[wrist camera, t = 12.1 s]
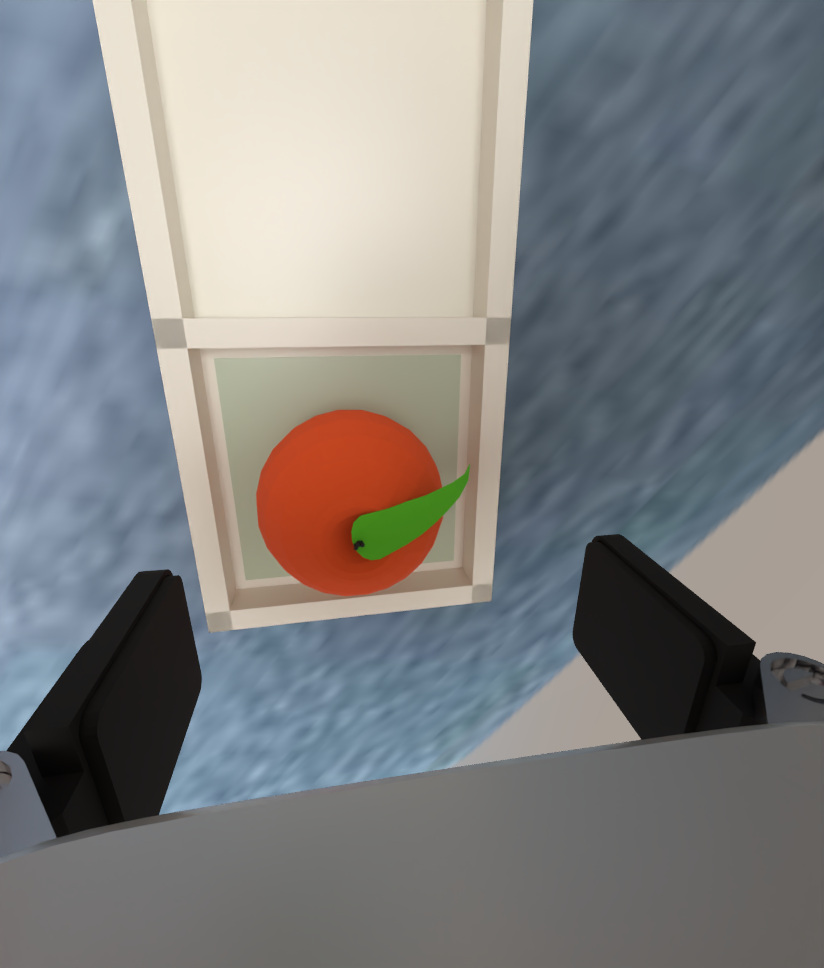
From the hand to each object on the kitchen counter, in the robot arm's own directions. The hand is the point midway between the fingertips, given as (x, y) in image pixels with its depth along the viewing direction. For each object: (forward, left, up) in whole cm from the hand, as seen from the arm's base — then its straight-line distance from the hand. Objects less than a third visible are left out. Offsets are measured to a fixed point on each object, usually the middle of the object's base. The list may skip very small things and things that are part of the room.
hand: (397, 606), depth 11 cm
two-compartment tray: (+1, -6, -12) cm, 13 cm away
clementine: (0, 0, -11) cm, 11 cm away
